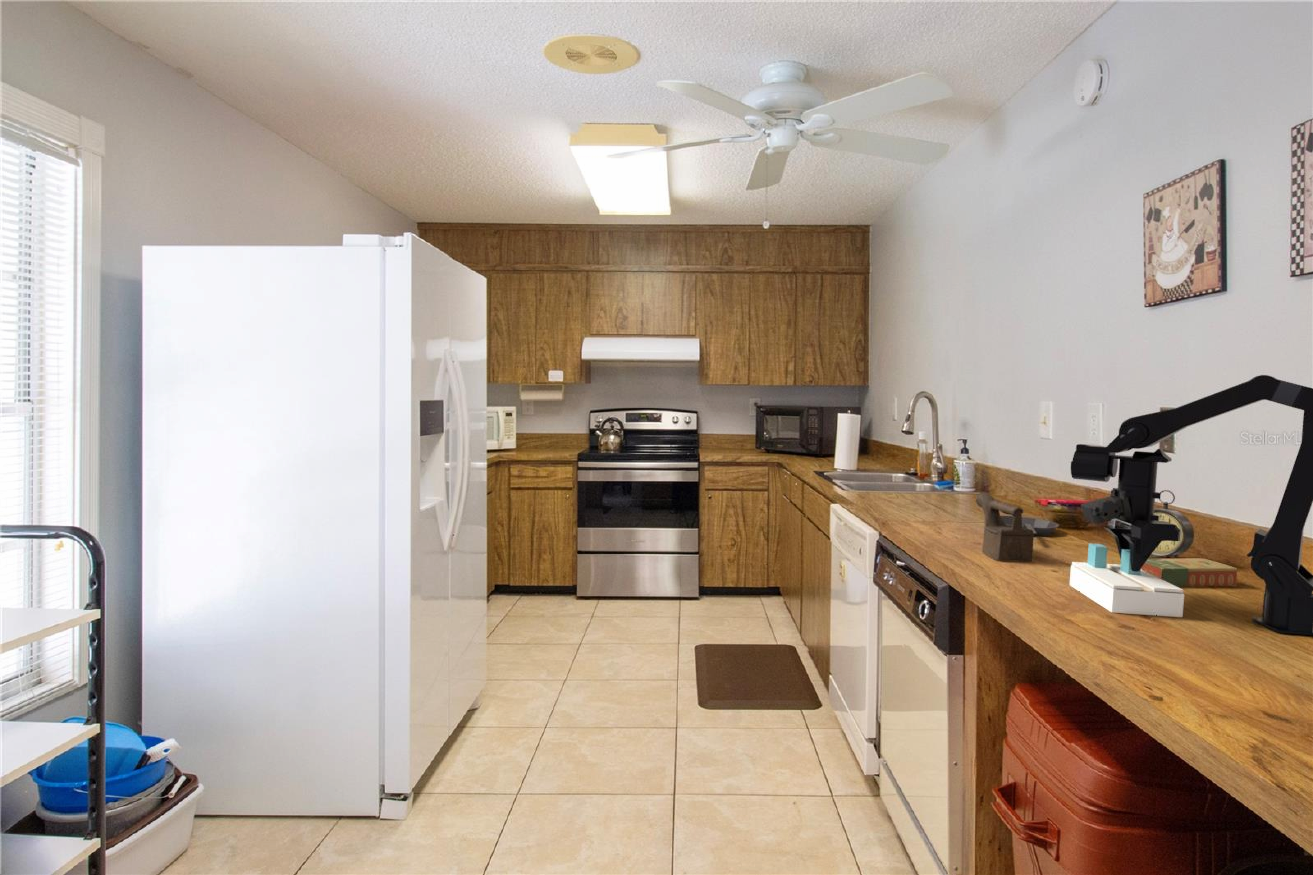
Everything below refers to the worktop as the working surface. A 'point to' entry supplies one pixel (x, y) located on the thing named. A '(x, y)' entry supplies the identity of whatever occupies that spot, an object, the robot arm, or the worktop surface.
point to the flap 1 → (1103, 569)
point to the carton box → (1127, 596)
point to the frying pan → (1033, 525)
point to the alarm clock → (1182, 523)
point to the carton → (1191, 571)
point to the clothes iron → (1004, 531)
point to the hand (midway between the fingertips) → (1130, 568)
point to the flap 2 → (1142, 575)
